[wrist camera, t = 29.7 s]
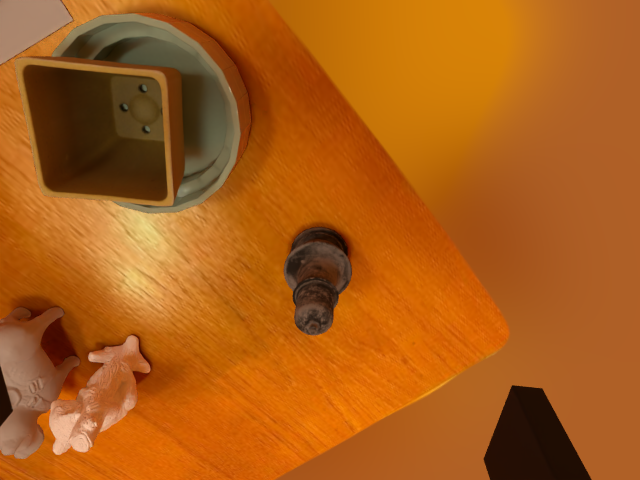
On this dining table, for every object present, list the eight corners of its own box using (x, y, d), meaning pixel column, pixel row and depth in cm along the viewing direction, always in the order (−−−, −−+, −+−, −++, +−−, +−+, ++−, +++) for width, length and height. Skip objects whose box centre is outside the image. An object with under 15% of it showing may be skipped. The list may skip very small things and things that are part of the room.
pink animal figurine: (125, 317, 46) (61, 408, 36) (175, 356, 49) (129, 454, 38) (78, 358, 49) (5, 454, 38) (127, 394, 51) (72, 494, 41)
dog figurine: (47, 391, 52) (-19, 477, 42) (7, 297, 46) (-80, 372, 36) (93, 390, 51) (36, 477, 42) (58, 296, 46) (-16, 371, 36)
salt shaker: (356, 273, 43) (362, 359, 32) (297, 284, 44) (283, 372, 33) (343, 218, 41) (344, 291, 30) (280, 231, 41) (259, 307, 31)
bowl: (286, 123, 37) (279, 138, 33) (171, 220, 41) (151, 245, 37) (158, -31, 33) (130, -38, 28) (44, 96, 37) (3, 108, 32)
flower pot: (202, 55, 34) (166, 71, 26) (204, 165, 38) (173, 208, 30) (83, 43, 34) (11, 55, 26) (98, 155, 38) (39, 196, 30)
